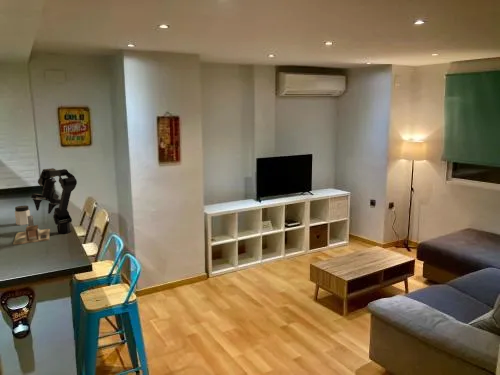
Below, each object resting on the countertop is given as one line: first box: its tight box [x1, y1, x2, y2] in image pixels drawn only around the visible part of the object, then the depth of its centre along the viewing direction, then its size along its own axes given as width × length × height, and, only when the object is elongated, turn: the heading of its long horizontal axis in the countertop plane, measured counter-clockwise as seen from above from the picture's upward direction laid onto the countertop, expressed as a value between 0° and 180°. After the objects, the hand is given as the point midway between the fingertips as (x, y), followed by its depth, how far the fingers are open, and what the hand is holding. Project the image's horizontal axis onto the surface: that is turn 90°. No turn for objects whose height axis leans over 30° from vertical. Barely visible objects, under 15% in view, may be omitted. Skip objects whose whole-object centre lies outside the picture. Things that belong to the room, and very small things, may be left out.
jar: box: [14, 205, 31, 226], centre depth 286 cm, size 9×8×12 cm
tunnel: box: [25, 224, 39, 241], centre depth 246 cm, size 6×8×7 cm
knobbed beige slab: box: [26, 214, 40, 239], centre depth 253 cm, size 6×20×10 cm, turn 24°
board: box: [13, 228, 51, 246], centre depth 253 cm, size 18×25×1 cm
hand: (43, 212), depth 265 cm, fingers open, 9 cm apart
